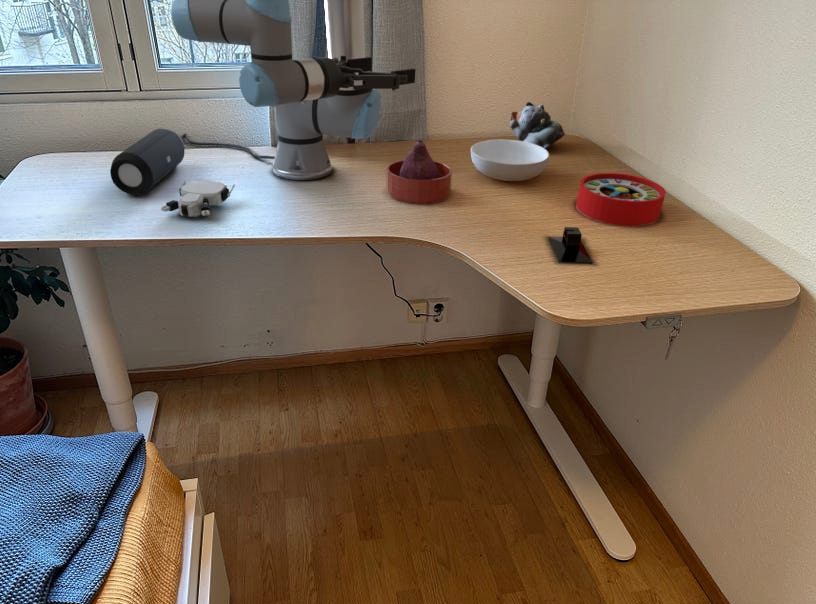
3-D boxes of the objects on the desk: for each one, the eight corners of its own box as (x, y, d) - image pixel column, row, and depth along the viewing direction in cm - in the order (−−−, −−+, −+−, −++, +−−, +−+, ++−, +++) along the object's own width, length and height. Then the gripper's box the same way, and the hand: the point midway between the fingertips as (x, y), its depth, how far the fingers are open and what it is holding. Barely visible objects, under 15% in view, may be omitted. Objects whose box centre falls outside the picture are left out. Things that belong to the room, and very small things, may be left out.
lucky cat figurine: (534, 155, 194) (518, 109, 189) (513, 160, 205) (496, 117, 200) (573, 135, 198) (557, 89, 193) (549, 140, 209) (534, 97, 204)
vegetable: (432, 211, 162) (441, 158, 151) (392, 201, 163) (398, 148, 151) (441, 187, 169) (450, 135, 157) (402, 178, 170) (408, 125, 158)
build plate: (547, 238, 145) (551, 218, 142) (580, 239, 145) (584, 219, 142) (558, 262, 135) (562, 241, 132) (593, 264, 135) (598, 243, 132)
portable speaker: (152, 199, 155) (144, 157, 149) (111, 196, 155) (101, 154, 149) (190, 165, 176) (184, 127, 170) (154, 163, 176) (147, 124, 170)
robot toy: (211, 227, 145) (238, 198, 156) (208, 208, 142) (235, 180, 153) (160, 221, 146) (190, 193, 158) (155, 202, 143) (186, 175, 155)
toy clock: (678, 186, 158) (644, 208, 145) (672, 210, 162) (638, 233, 149) (603, 167, 169) (565, 186, 156) (598, 189, 172) (561, 209, 159)
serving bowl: (458, 181, 173) (460, 155, 169) (482, 159, 189) (484, 135, 185) (535, 194, 167) (539, 167, 163) (553, 170, 183) (557, 146, 179)
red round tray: (373, 190, 165) (373, 167, 161) (418, 177, 174) (419, 155, 171) (417, 209, 156) (419, 185, 152) (463, 194, 165) (465, 171, 162)
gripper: (277, 86, 139) (353, 77, 152) (356, 112, 125) (431, 99, 138) (276, 47, 134) (353, 41, 148) (356, 70, 121) (434, 61, 134)
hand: (391, 69), depth 143 cm, fingers open, 13 cm apart
